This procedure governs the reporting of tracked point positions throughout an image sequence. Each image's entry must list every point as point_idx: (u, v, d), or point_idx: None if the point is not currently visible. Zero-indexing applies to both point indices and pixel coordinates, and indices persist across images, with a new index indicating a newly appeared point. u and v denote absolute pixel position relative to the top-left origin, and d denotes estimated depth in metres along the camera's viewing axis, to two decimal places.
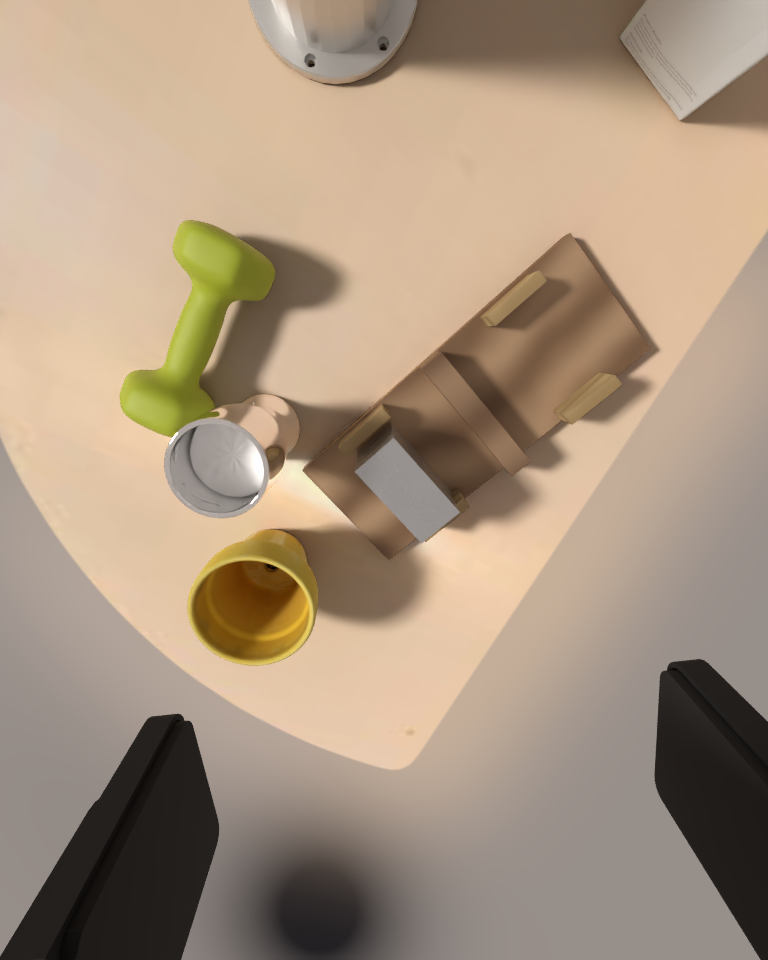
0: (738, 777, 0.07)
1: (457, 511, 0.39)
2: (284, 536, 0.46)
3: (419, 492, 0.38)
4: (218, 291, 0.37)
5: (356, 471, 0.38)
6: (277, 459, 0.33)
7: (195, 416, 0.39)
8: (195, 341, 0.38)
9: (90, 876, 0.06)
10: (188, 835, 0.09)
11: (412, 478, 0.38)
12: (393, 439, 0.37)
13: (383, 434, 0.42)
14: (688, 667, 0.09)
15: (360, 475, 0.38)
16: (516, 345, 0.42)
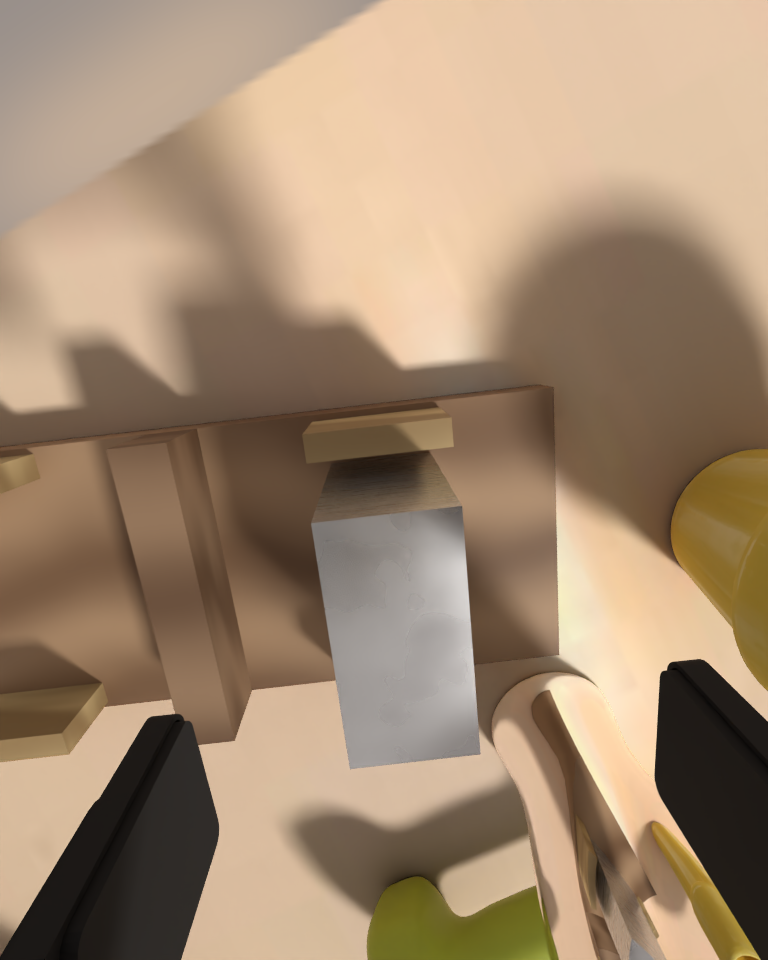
0: (738, 777, 0.07)
1: (315, 529, 0.13)
2: (691, 575, 0.21)
3: (375, 631, 0.14)
4: None
5: (475, 751, 0.15)
6: None
7: None
8: (547, 958, 0.23)
9: (90, 876, 0.06)
10: (188, 835, 0.09)
11: (370, 671, 0.14)
12: (352, 765, 0.15)
13: None
14: (688, 667, 0.09)
15: (474, 740, 0.15)
16: (63, 628, 0.21)
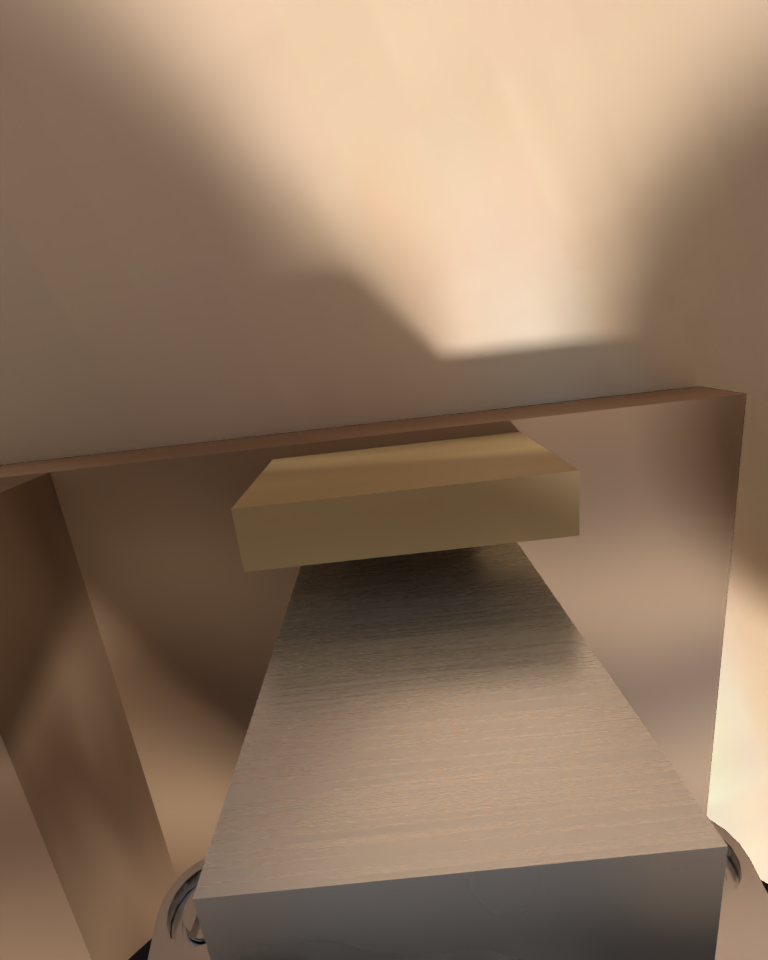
0: None
1: (211, 914, 0.04)
2: None
3: None
4: None
5: None
6: None
7: None
8: None
9: None
10: None
11: None
12: None
13: None
14: None
15: None
16: None
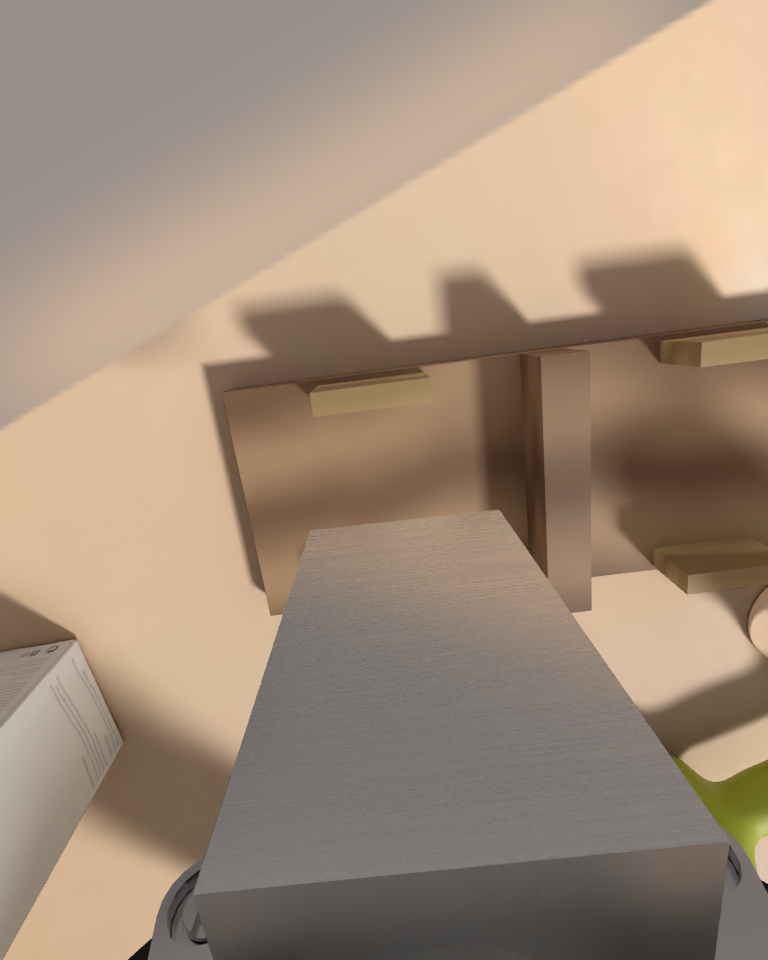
0: None
1: (212, 910, 0.04)
2: None
3: None
4: (745, 837, 0.26)
5: None
6: None
7: None
8: None
9: None
10: None
11: None
12: None
13: None
14: None
15: None
16: None
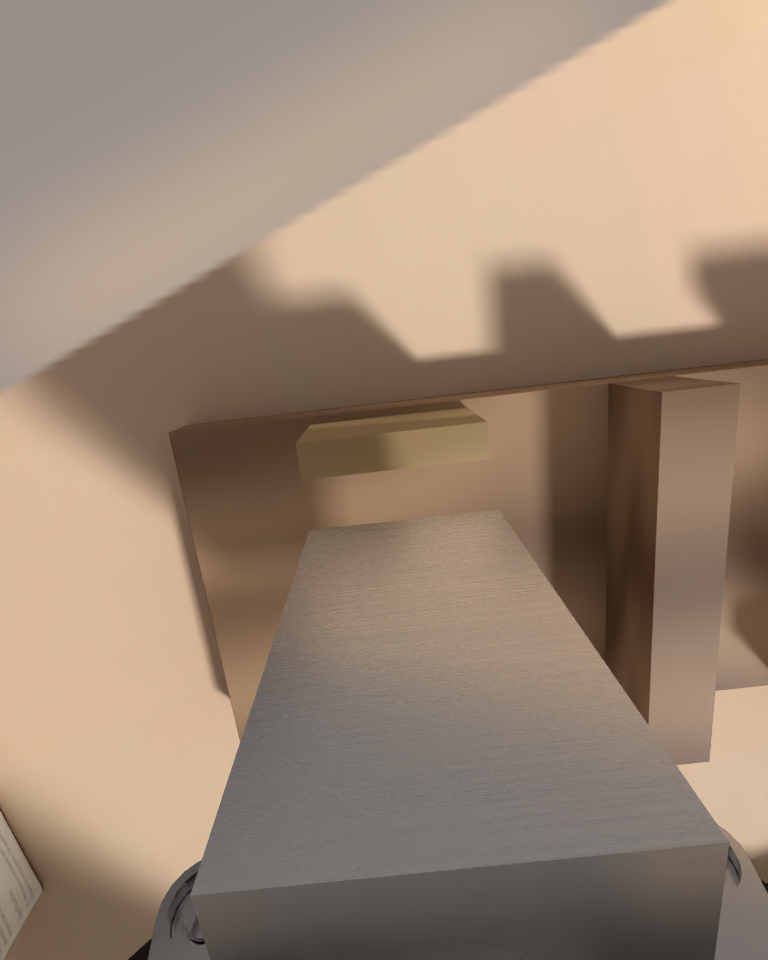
0: None
1: (209, 911, 0.04)
2: None
3: None
4: None
5: None
6: None
7: None
8: None
9: None
10: None
11: None
12: None
13: None
14: None
15: None
16: None
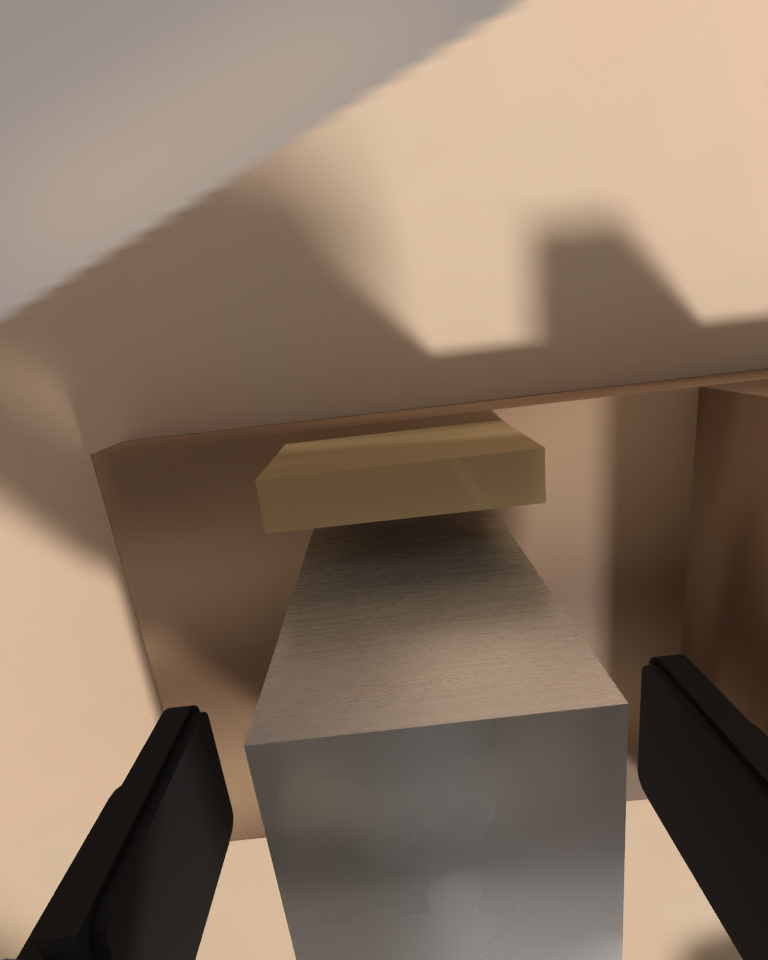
0: (713, 768, 0.07)
1: (257, 758, 0.05)
2: None
3: (403, 956, 0.06)
4: None
5: None
6: None
7: None
8: None
9: (115, 859, 0.07)
10: (205, 823, 0.09)
11: None
12: None
13: None
14: (668, 662, 0.09)
15: None
16: None
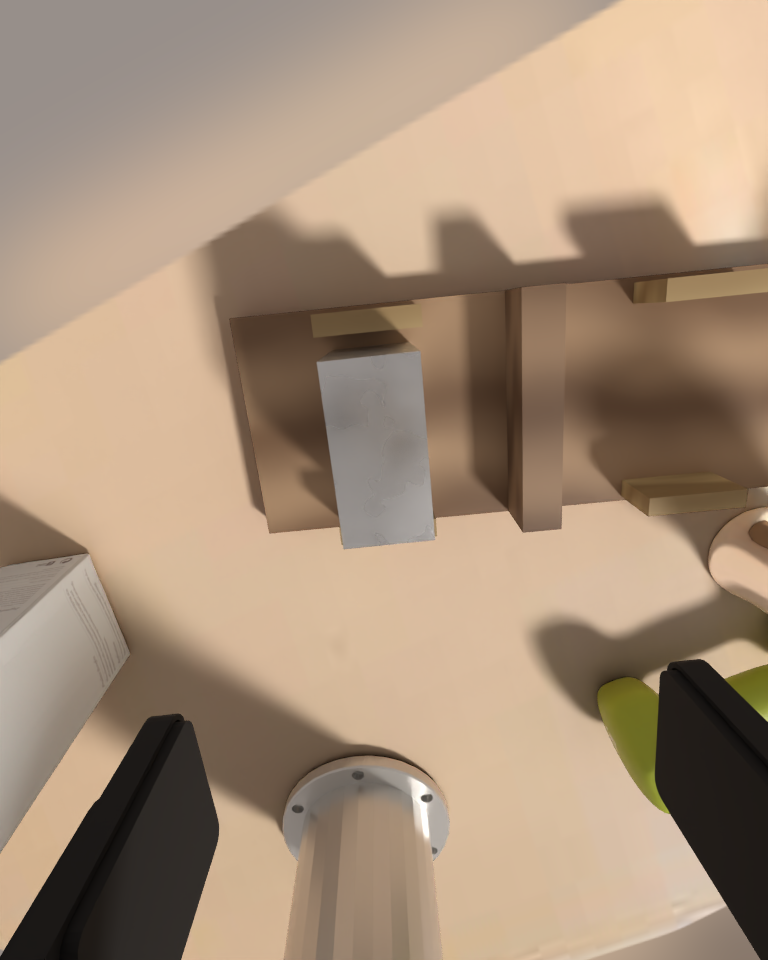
0: (738, 777, 0.07)
1: (319, 366, 0.19)
2: None
3: (360, 444, 0.20)
4: None
5: (432, 538, 0.21)
6: None
7: None
8: None
9: (90, 876, 0.06)
10: (188, 835, 0.09)
11: (357, 474, 0.20)
12: (345, 546, 0.21)
13: None
14: (688, 667, 0.09)
15: (430, 529, 0.21)
16: None
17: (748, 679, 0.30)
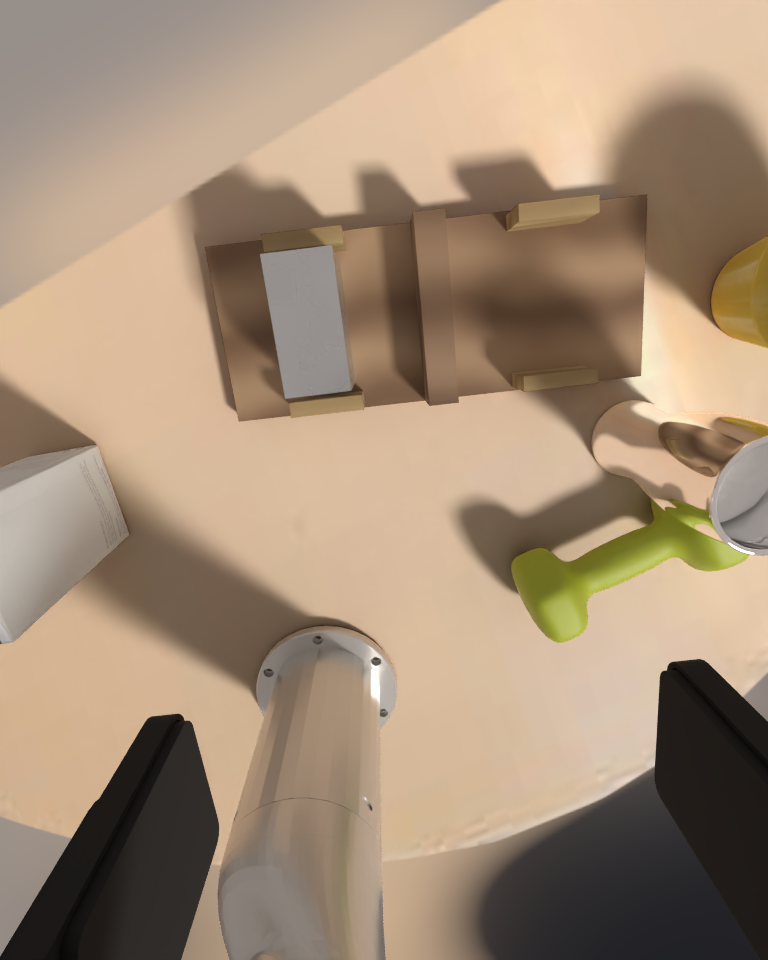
0: (738, 777, 0.07)
1: (262, 257, 0.27)
2: (724, 317, 0.35)
3: (293, 316, 0.28)
4: (577, 584, 0.37)
5: (349, 389, 0.29)
6: (698, 450, 0.26)
7: None
8: (629, 561, 0.37)
9: (90, 876, 0.06)
10: (188, 835, 0.09)
11: (292, 339, 0.28)
12: (286, 397, 0.29)
13: None
14: (688, 667, 0.09)
15: (347, 382, 0.29)
16: None
17: (624, 537, 0.38)
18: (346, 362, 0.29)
